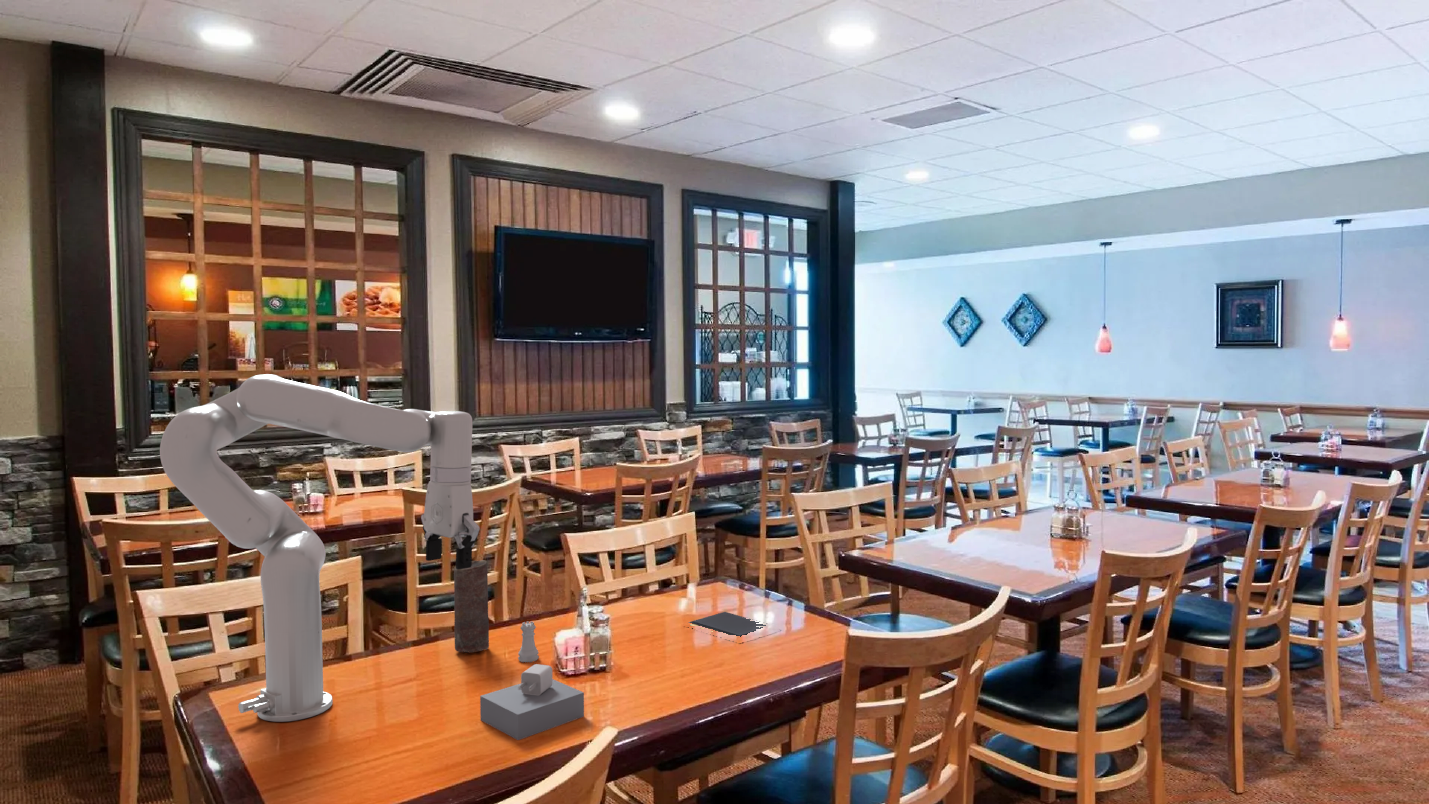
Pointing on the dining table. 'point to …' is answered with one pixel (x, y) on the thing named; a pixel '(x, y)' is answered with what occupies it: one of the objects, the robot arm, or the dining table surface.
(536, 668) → the usb wall charger
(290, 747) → the dining table surface
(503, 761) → the dining table surface
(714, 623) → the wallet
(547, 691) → the base block
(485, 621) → the dark brown rough pillar
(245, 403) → the robot arm
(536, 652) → the rook chess piece
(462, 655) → the dining table surface
